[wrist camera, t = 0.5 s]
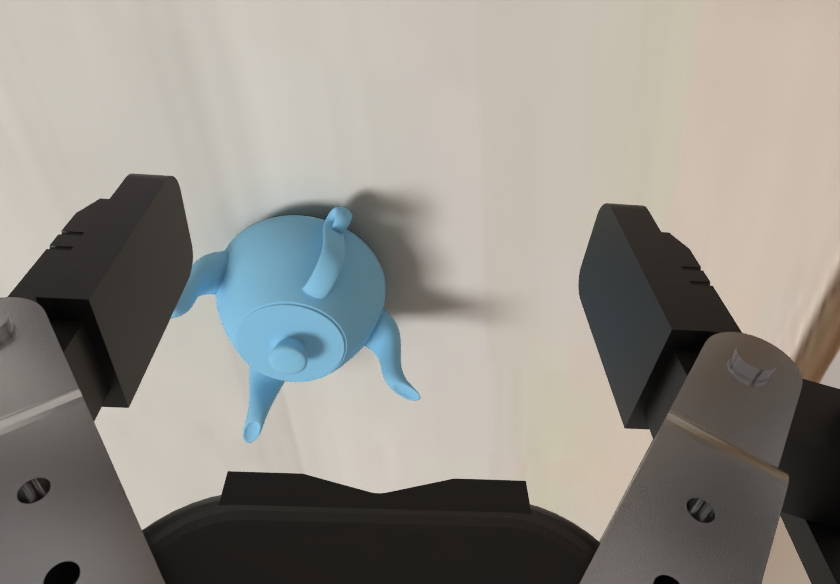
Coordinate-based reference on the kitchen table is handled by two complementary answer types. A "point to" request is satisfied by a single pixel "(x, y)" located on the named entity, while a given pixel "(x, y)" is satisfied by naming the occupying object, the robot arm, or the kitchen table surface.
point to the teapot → (298, 304)
